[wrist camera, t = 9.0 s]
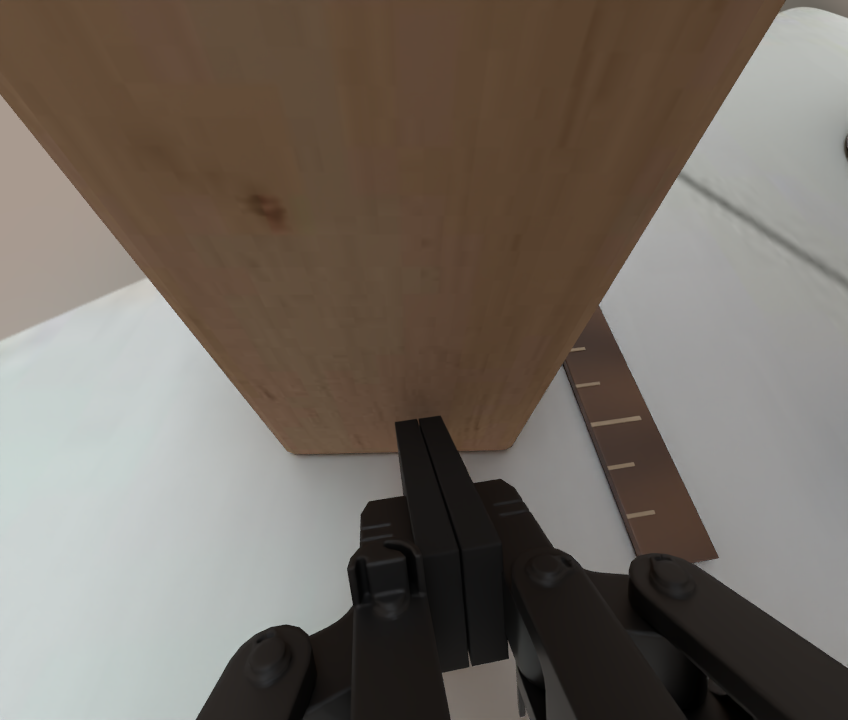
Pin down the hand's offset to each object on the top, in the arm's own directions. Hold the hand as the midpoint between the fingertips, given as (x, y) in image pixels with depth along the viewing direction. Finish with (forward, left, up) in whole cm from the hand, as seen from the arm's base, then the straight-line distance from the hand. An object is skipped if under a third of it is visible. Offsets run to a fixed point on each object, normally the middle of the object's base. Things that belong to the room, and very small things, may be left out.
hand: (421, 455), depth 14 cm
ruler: (-10, -4, -4) cm, 12 cm away
